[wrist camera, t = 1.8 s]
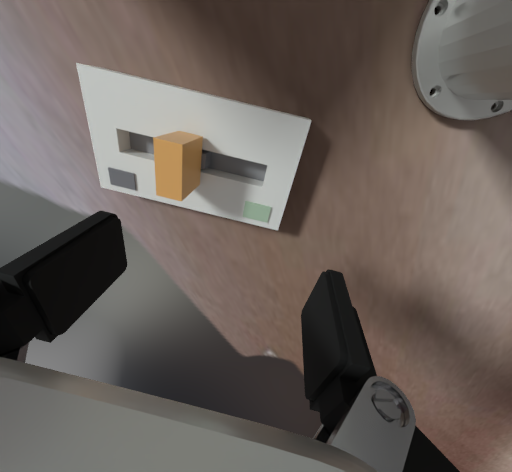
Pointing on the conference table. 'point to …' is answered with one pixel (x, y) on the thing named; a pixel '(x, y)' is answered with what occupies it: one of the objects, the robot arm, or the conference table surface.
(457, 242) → the conference table surface
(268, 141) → the slider switch
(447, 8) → the robot arm
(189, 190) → the orange slider handle
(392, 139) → the conference table surface
